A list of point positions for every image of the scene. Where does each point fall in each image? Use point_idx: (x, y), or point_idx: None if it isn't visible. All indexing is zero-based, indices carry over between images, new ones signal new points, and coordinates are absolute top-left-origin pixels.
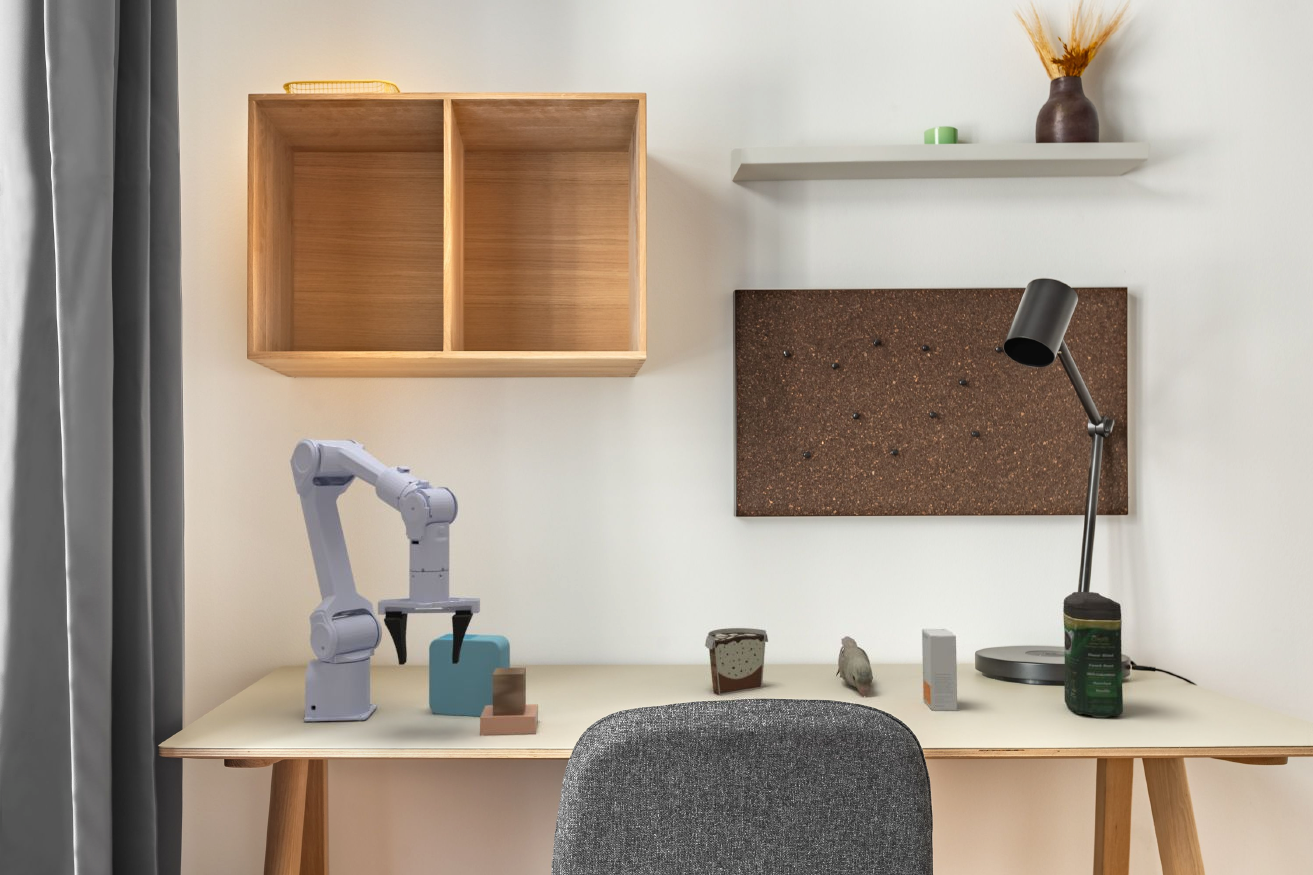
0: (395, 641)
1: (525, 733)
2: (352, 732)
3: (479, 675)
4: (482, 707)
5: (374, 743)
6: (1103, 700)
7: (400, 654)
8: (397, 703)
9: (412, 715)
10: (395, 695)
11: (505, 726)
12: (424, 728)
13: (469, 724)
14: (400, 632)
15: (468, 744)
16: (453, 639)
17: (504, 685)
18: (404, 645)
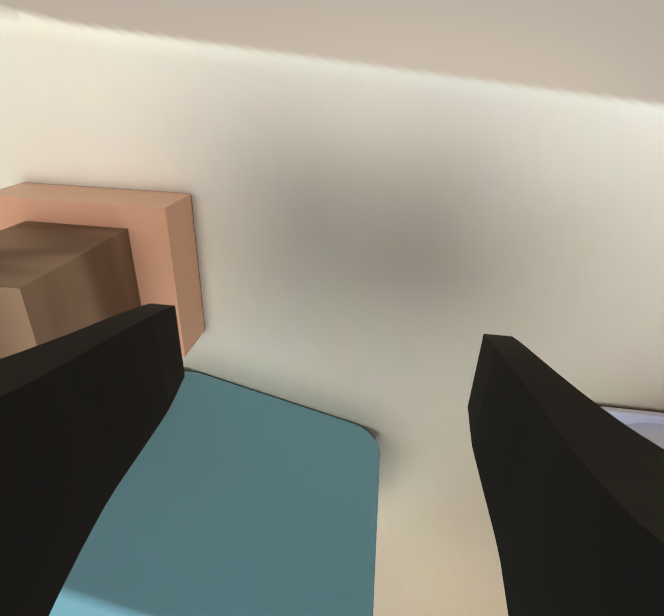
0: (610, 426)
1: (52, 185)
2: (617, 292)
3: (184, 472)
4: (215, 395)
5: (543, 145)
6: None
7: (523, 359)
8: (475, 532)
9: (427, 427)
10: (483, 590)
11: (97, 193)
12: (379, 296)
13: (247, 314)
14: (599, 473)
15: (205, 84)
16: (52, 368)
17: (7, 262)
18: (502, 464)
